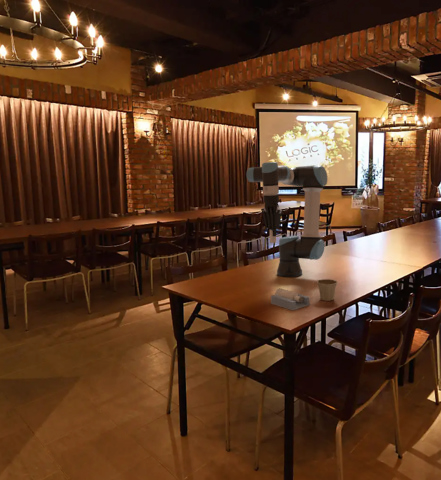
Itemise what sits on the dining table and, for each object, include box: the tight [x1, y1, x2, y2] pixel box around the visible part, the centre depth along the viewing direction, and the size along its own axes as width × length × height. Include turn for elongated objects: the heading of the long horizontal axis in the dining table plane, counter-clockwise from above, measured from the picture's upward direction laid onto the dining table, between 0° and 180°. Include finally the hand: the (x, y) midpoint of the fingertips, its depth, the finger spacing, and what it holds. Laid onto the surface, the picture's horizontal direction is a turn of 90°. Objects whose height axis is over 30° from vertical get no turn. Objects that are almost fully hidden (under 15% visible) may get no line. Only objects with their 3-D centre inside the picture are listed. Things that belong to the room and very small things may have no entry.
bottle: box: [274, 288, 304, 303], centre depth 184 cm, size 5×5×15 cm
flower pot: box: [316, 278, 338, 302], centre depth 188 cm, size 9×9×9 cm
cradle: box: [270, 293, 311, 311], centre depth 183 cm, size 14×11×4 cm
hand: (273, 242), depth 194 cm, fingers closed
